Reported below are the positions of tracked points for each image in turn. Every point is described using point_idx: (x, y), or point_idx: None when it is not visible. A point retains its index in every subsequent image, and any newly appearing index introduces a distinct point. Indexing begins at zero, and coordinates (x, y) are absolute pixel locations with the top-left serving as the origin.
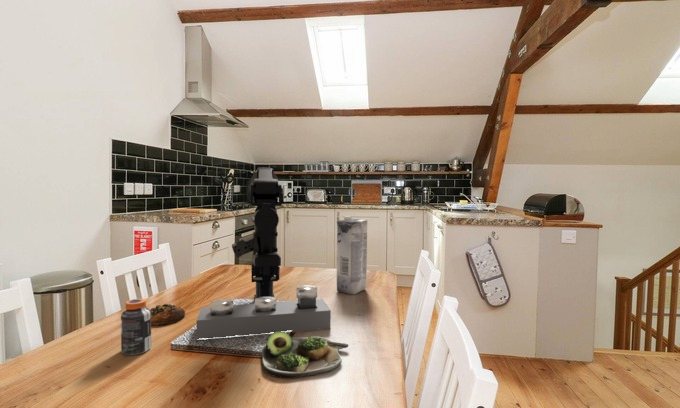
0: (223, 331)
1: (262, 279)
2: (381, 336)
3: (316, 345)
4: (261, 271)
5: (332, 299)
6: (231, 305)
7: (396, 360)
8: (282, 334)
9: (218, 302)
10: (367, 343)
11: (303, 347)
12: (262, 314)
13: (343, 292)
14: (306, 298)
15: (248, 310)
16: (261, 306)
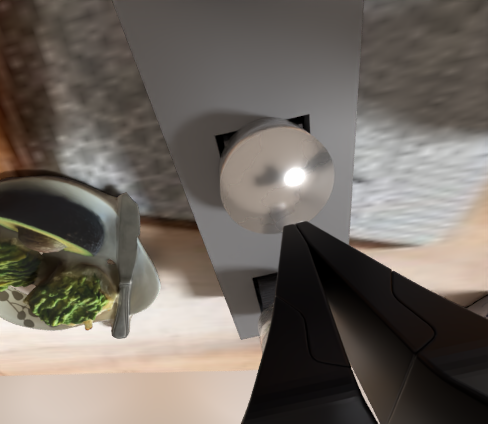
0: None
1: (279, 266)
2: (202, 358)
3: (42, 316)
4: (265, 357)
5: (437, 286)
6: None
7: (109, 372)
8: (72, 245)
9: None
10: (168, 345)
11: (37, 289)
12: (191, 169)
13: (474, 304)
14: (258, 327)
15: (246, 86)
16: (220, 170)
